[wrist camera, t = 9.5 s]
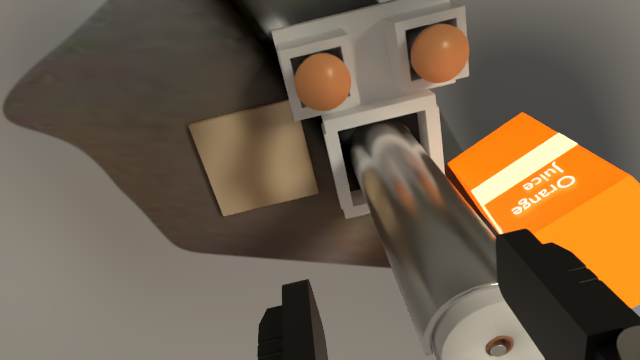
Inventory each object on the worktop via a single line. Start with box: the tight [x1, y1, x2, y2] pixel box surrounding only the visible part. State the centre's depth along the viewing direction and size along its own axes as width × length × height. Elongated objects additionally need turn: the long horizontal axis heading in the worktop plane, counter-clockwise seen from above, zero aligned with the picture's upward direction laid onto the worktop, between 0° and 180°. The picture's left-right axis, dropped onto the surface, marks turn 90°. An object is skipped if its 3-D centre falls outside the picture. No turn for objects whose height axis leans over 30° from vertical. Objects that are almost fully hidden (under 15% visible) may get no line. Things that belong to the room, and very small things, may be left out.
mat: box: [188, 99, 319, 216], centre depth 41 cm, size 10×10×1 cm
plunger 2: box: [406, 24, 469, 83], centre depth 34 cm, size 4×4×5 cm
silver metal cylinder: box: [349, 118, 545, 360], centre depth 31 cm, size 6×6×25 cm
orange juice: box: [447, 112, 640, 308], centre depth 35 cm, size 8×9×20 cm
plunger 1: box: [295, 51, 351, 111], centre depth 34 cm, size 4×4×5 cm
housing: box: [271, 0, 469, 219], centre depth 38 cm, size 15×18×5 cm
